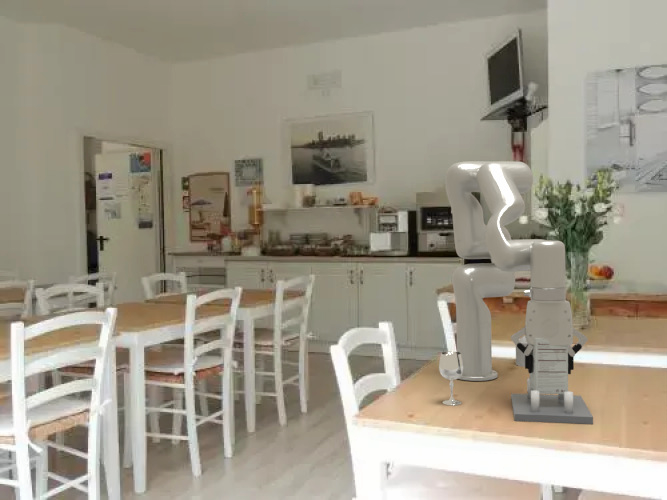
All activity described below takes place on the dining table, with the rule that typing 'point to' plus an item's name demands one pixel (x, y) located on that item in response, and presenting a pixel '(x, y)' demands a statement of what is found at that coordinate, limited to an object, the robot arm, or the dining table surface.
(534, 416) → the pin tray
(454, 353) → the wineglass
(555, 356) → the supplement box
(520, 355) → the lumpy-topped squat cylinder
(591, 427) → the dining table surface
